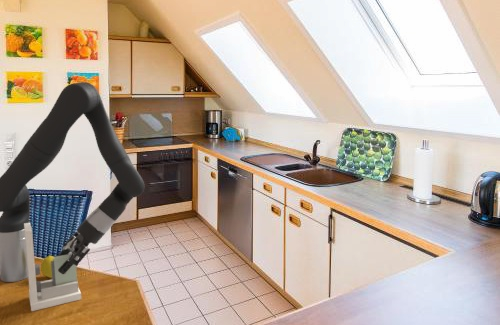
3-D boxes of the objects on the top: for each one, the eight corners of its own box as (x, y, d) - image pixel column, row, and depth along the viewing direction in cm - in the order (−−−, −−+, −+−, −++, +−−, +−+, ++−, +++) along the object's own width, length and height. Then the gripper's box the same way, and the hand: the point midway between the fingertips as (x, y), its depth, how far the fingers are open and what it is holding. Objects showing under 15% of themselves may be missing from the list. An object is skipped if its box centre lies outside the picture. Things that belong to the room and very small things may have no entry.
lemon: (42, 275, 135) (40, 253, 134) (60, 273, 138) (58, 251, 136) (41, 282, 130) (39, 260, 129) (59, 279, 133) (58, 257, 131)
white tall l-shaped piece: (76, 286, 128) (72, 216, 124) (81, 299, 121) (77, 224, 117) (29, 297, 121) (23, 223, 117) (31, 311, 114) (24, 232, 109)
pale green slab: (76, 285, 125) (74, 253, 123) (77, 289, 123) (75, 256, 121) (52, 290, 121) (50, 257, 119) (53, 294, 119) (51, 260, 117)
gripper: (82, 212, 128) (45, 252, 124) (91, 225, 116) (51, 269, 112) (100, 225, 132) (65, 264, 128) (110, 239, 120) (72, 282, 116)
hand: (58, 267), depth 120 cm, fingers open, 8 cm apart
